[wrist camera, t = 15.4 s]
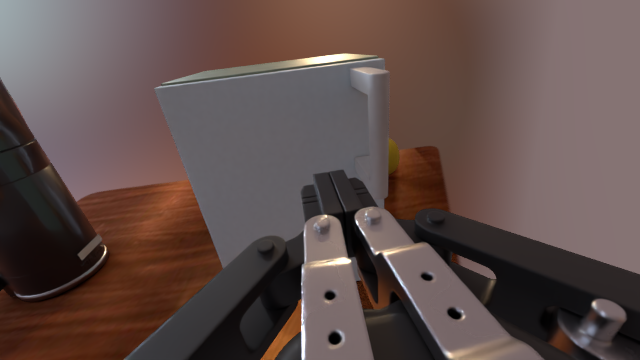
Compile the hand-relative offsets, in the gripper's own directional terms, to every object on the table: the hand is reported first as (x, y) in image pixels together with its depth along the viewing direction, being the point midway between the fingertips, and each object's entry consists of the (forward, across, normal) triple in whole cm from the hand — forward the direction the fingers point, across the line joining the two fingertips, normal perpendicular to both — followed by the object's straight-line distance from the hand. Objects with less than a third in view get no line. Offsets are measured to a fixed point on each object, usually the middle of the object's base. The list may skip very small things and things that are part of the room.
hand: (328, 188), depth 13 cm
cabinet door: (+6, +2, +17) cm, 18 cm away
